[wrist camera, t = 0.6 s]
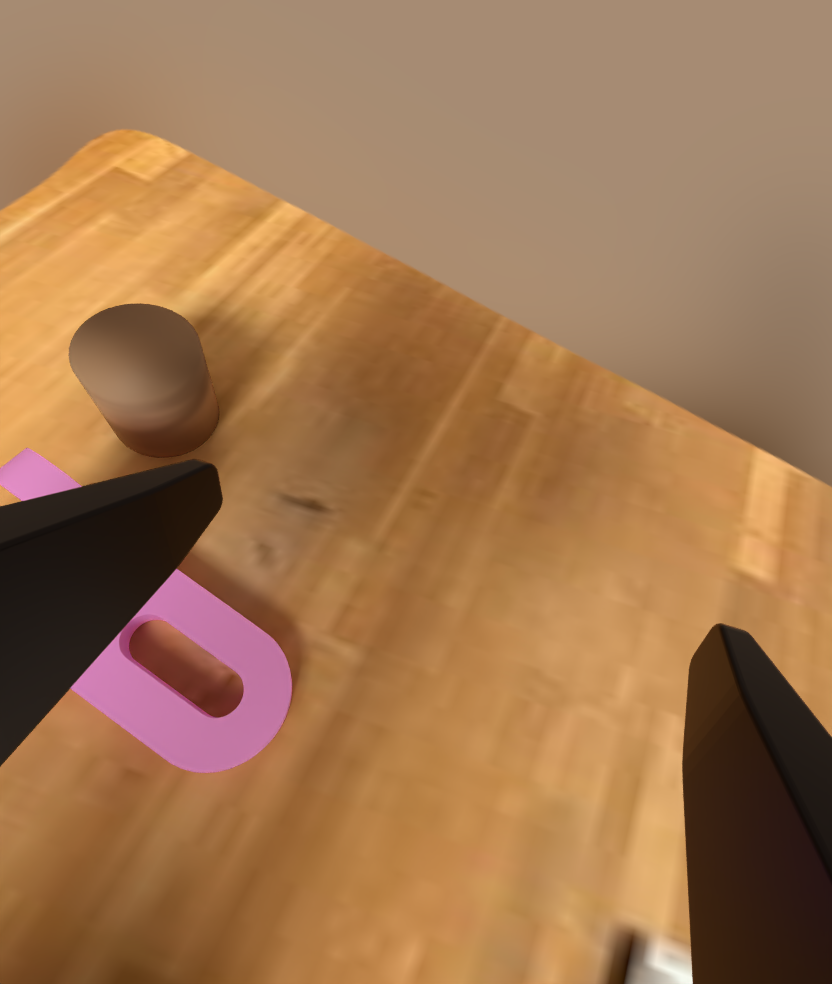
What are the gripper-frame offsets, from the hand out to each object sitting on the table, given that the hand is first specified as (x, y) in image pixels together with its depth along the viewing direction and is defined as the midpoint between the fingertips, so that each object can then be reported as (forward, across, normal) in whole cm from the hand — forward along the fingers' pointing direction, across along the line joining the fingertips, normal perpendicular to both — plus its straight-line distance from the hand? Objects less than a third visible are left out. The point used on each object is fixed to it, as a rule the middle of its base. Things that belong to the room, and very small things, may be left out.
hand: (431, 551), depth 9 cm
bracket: (+3, +12, +13) cm, 18 cm away
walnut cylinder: (+11, +18, +7) cm, 22 cm away
